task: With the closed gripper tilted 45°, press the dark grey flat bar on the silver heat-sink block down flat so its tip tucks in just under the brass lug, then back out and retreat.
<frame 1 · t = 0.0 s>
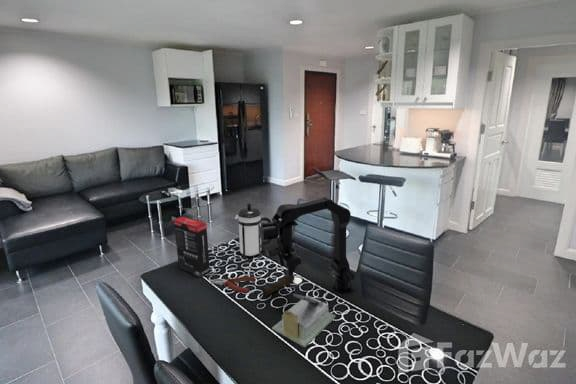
hand: (285, 271, 131), 15 cm above the table, tool pointing down, fingers open, 9 cm apart
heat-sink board: (305, 322, 122), on the table
dark grey flat bar: (306, 298, 120), point 10 cm above the table, hinge at 35.0°
pliers: (235, 284, 150), on the table
hand tool: (279, 287, 146), on the table
graphics card box: (194, 271, 160), on the table
coffee press: (252, 253, 179), on the table
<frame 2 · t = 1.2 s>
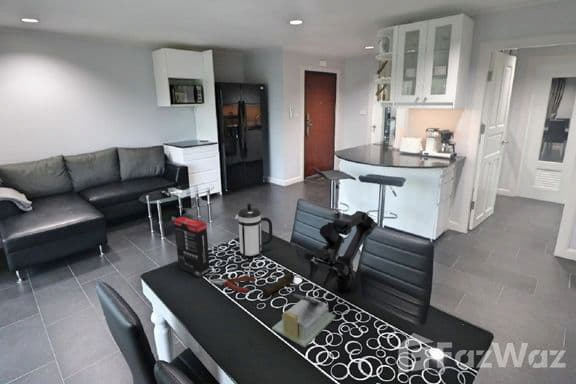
hand: (317, 282, 124), 13 cm above the table, tool tilted 45°, fingers open, 6 cm apart
nothing on the table moved.
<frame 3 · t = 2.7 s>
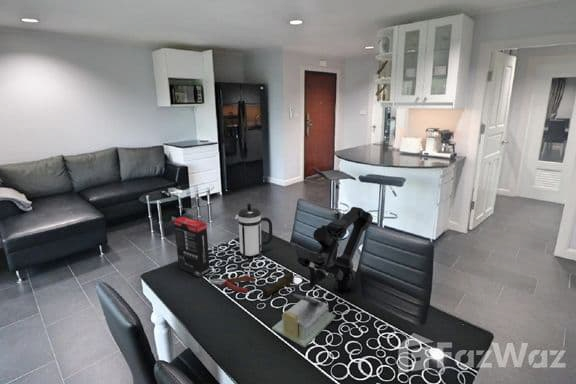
hand: (310, 287, 121), 14 cm above the table, tool tilted 45°, fingers closed
nothing on the table moved.
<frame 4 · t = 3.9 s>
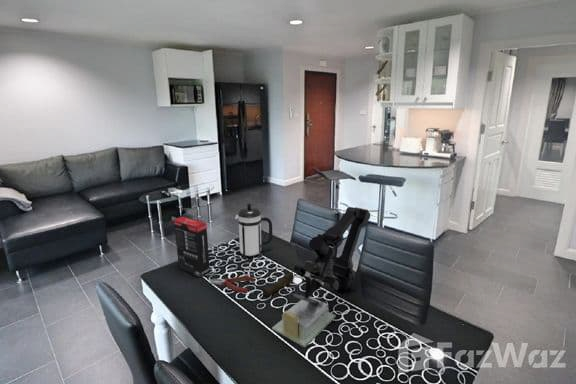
hand: (306, 297, 119), 11 cm above the table, tool tilted 45°, fingers closed, pressing on dark grey flat bar
dark grey flat bar: (306, 298, 120), point 10 cm above the table, hinge at 34.9°, touching gripper
everything else where it was.
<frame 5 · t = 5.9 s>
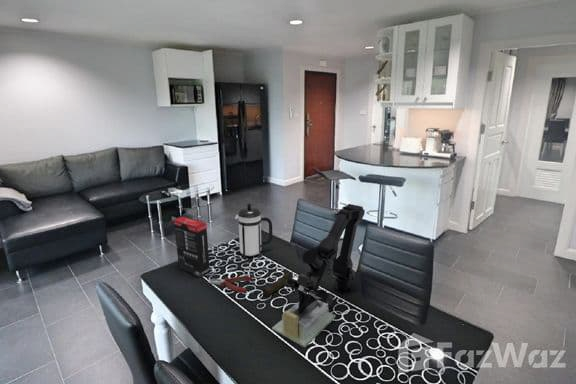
hand: (299, 312, 117), 7 cm above the table, tool tilted 45°, fingers closed
dark grey flat bar: (304, 309, 120), point 6 cm above the table, hinge at -0.3°, touching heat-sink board
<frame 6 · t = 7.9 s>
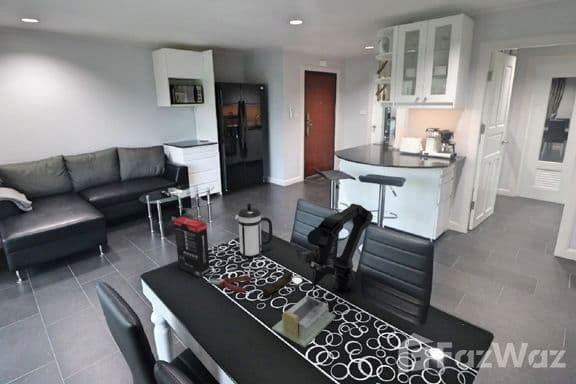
hand: (313, 286, 125), 12 cm above the table, tool tilted 25°, fingers closed
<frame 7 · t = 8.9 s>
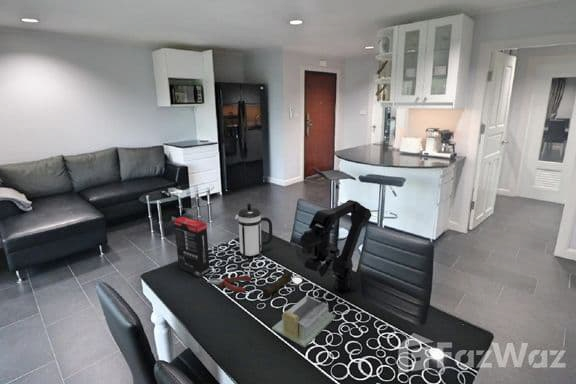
hand: (322, 276, 132), 12 cm above the table, tool pointing down, fingers closed
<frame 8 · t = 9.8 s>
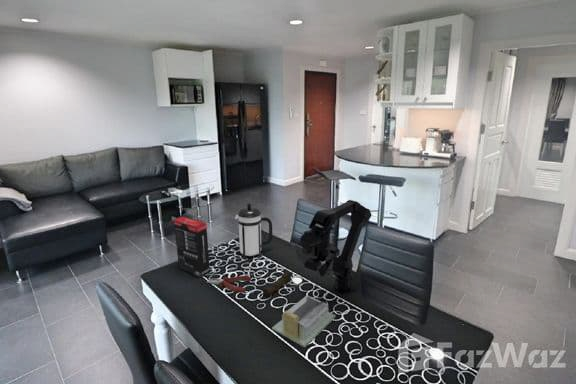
hand: (322, 276, 132), 12 cm above the table, tool pointing down, fingers closed
at the end: dark grey flat bar at +0° (first picture: +35°); hand tool moved 0.9 cm from its start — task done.
